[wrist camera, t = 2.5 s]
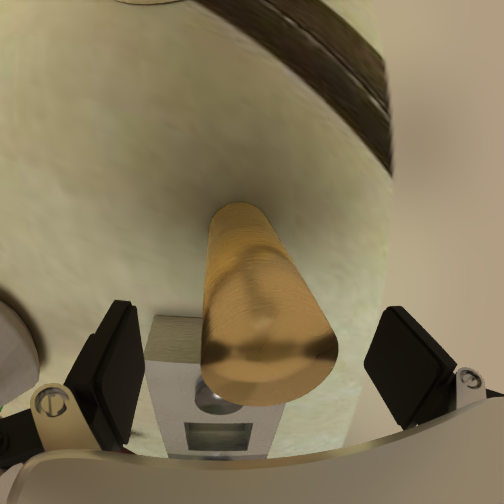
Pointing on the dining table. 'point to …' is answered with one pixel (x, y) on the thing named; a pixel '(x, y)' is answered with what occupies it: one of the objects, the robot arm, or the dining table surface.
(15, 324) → the coffee pot
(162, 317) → the grey rectangular block
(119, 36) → the dining table surface
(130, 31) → the dining table surface
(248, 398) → the pin
